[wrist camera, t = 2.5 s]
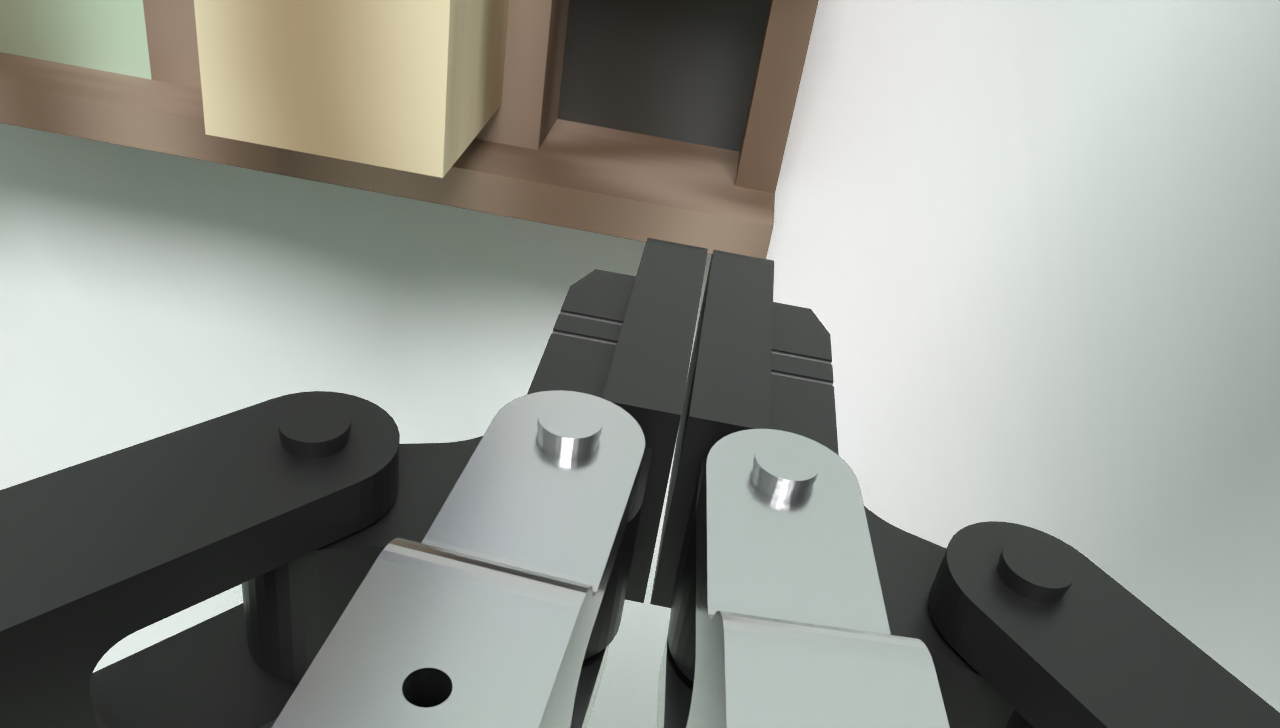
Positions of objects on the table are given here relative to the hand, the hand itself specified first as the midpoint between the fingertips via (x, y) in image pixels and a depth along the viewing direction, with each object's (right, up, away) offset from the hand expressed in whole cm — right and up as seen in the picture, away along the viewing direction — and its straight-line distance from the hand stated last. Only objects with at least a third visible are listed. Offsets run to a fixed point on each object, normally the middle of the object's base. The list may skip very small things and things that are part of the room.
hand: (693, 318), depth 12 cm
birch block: (-6, +8, +12) cm, 16 cm away
